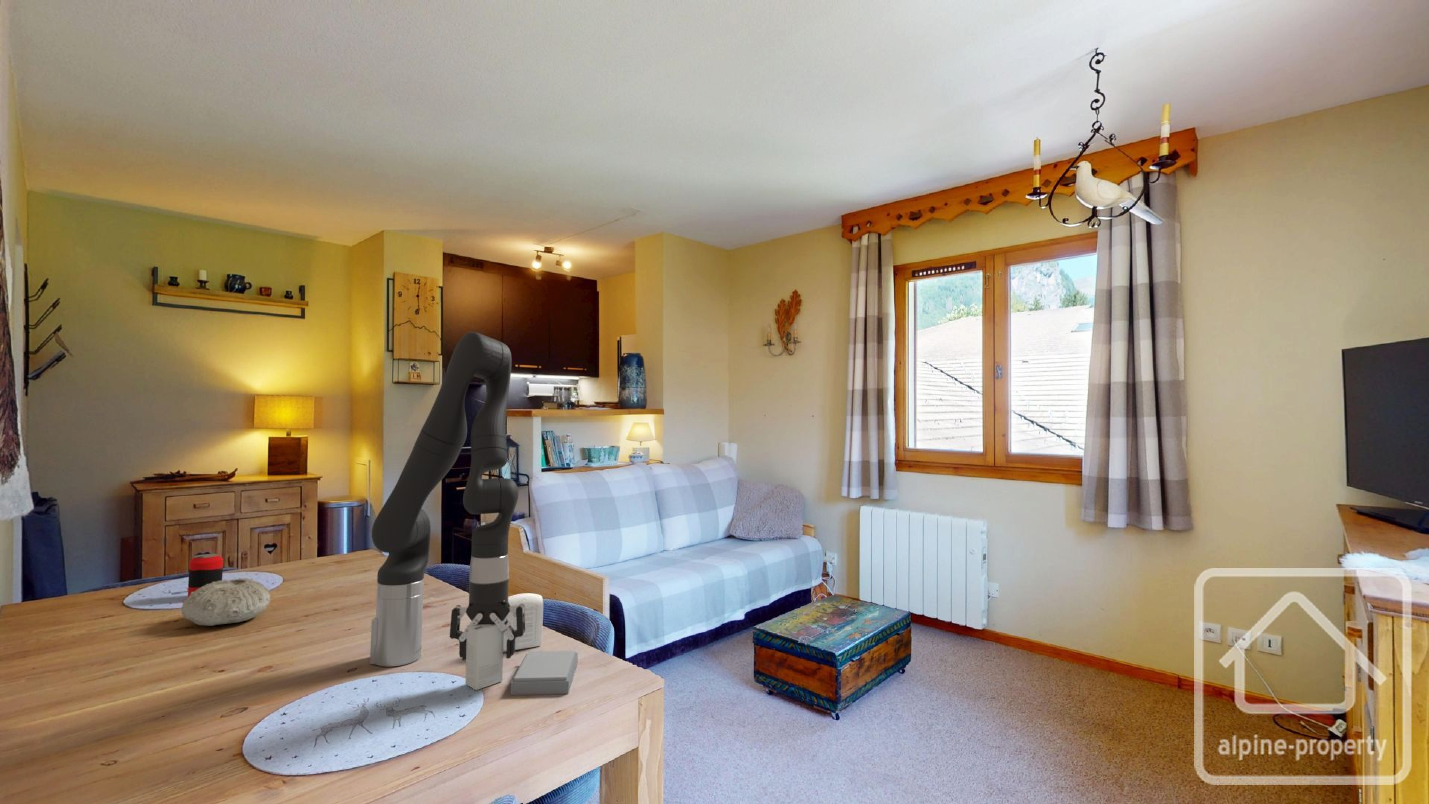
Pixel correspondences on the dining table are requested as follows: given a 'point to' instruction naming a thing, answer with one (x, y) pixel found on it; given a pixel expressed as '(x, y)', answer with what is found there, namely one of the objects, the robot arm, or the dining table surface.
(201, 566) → the soda can
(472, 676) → the skincare box
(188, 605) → the decorative shell
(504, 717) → the dining table surface
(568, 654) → the slate stand
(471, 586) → the robot arm
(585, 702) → the dining table surface
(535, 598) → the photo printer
